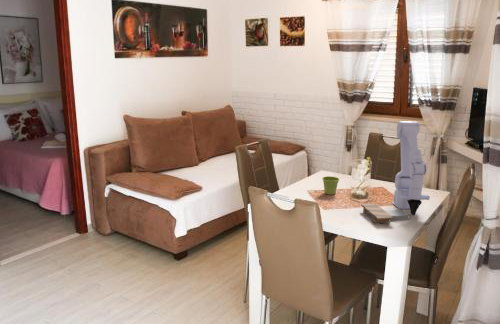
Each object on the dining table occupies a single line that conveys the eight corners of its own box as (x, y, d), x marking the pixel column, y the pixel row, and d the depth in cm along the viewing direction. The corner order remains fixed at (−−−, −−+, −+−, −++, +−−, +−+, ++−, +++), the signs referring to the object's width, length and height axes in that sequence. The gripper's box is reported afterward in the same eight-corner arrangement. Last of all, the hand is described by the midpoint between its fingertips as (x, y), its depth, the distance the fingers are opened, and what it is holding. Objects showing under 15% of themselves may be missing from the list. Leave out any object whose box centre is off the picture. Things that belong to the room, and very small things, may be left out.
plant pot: (339, 196, 251) (340, 181, 249) (322, 195, 251) (323, 180, 249) (337, 191, 260) (337, 176, 258) (320, 190, 260) (321, 176, 258)
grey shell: (381, 214, 223) (382, 210, 222) (400, 213, 224) (401, 209, 224) (388, 220, 215) (389, 216, 215) (408, 219, 217) (409, 215, 216)
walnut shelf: (360, 210, 227) (361, 204, 227) (374, 210, 229) (375, 203, 228) (377, 225, 208) (377, 218, 207) (392, 224, 209) (393, 217, 208)
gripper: (405, 190, 213) (402, 217, 216) (434, 189, 215) (431, 216, 218) (398, 185, 220) (396, 212, 223) (426, 185, 222) (423, 211, 225)
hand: (412, 214), depth 221 cm, fingers closed
